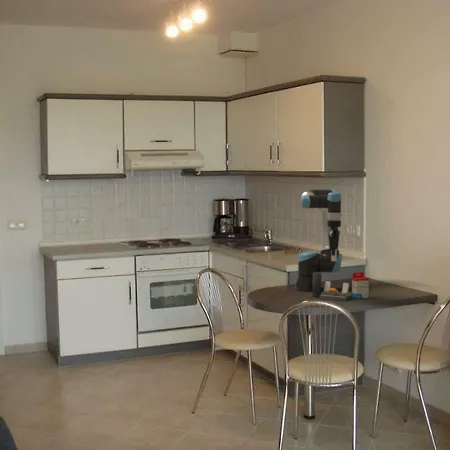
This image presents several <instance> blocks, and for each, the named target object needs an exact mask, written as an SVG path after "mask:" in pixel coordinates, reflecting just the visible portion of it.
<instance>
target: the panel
mask: <svg viewBox="0 0 450 450" xmlns="http://www.w3.org/2000/svg"><path fill="white" fill-rule="evenodd" d="M318 299H319V300H326V301H336V300H340V301H339V302H348V301H349V300H351V299H353V298H352V294H351V293H350V294H349V293H348V295H342V293H339V294H333V293H332V292H330V293H324V292H322V293H321V295H319V298H318Z"/></svg>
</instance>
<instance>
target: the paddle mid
mask: <svg viewBox="0 0 450 450" xmlns="http://www.w3.org/2000/svg"><path fill="white" fill-rule="evenodd" d="M330 293H333V294H340V292H339V290H338V289H336V287H330Z"/></svg>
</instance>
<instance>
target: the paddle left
mask: <svg viewBox="0 0 450 450" xmlns="http://www.w3.org/2000/svg"><path fill="white" fill-rule="evenodd" d="M331 285H332V282H331V281H325V282H324V287H323V293H331V291H330V288H331Z"/></svg>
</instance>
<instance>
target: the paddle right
mask: <svg viewBox="0 0 450 450" xmlns="http://www.w3.org/2000/svg"><path fill="white" fill-rule="evenodd" d="M349 287H350V283H348V282H343V284H342V290H341V294H342V295H348V294H349V289H350V288H349Z"/></svg>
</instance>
